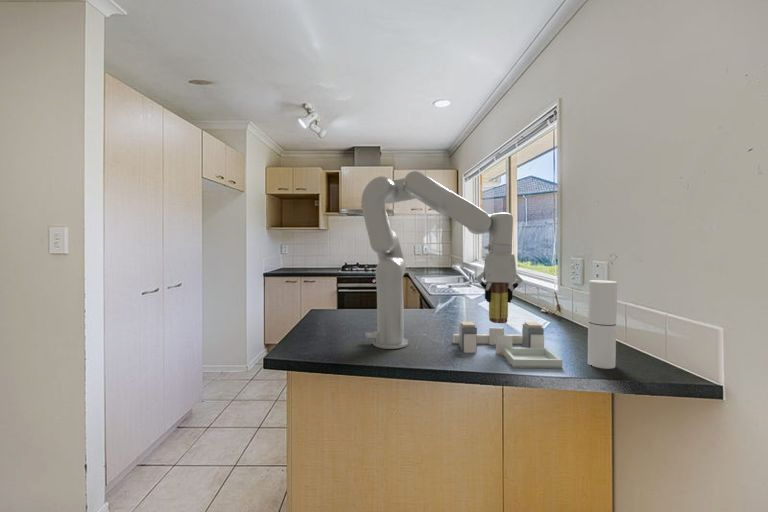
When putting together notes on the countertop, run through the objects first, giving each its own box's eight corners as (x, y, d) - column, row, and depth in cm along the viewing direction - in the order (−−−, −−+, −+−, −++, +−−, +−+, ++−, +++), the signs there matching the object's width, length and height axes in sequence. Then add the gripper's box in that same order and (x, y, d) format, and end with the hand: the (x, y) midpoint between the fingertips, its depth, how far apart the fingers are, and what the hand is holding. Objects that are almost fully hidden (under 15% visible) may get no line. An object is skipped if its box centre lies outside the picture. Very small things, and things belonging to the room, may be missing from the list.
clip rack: (459, 355, 119) (459, 328, 118) (453, 342, 134) (453, 318, 134) (553, 356, 117) (554, 329, 116) (536, 342, 132) (536, 318, 132)
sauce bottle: (505, 320, 128) (507, 264, 127) (509, 324, 122) (512, 265, 121) (486, 319, 129) (488, 263, 128) (489, 323, 122) (492, 264, 121)
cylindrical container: (584, 364, 109) (585, 281, 108) (591, 358, 114) (593, 279, 113) (611, 370, 104) (613, 283, 103) (618, 364, 109) (619, 281, 108)
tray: (513, 367, 106) (513, 359, 106) (502, 355, 118) (502, 347, 118) (562, 368, 106) (562, 360, 106) (546, 355, 118) (546, 347, 118)
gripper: (476, 249, 121) (474, 302, 122) (529, 250, 120) (527, 304, 121) (472, 248, 128) (470, 299, 129) (522, 249, 127) (520, 300, 128)
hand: (498, 301), depth 125 cm, fingers closed on sauce bottle, 6 cm apart
